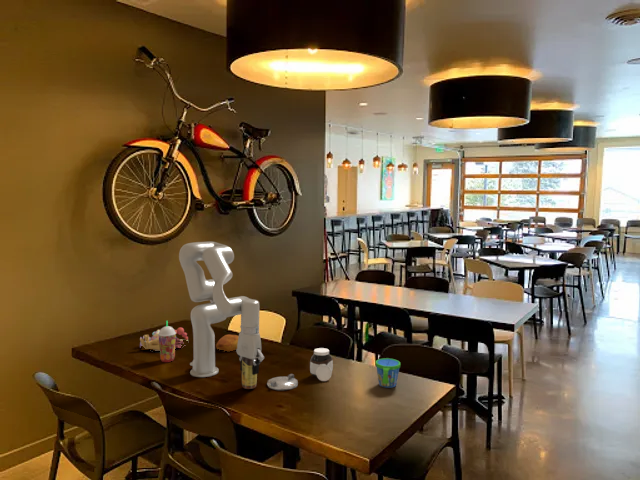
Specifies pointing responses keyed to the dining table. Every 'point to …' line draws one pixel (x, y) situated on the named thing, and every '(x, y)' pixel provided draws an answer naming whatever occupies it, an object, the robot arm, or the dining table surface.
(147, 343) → the candy landscape model
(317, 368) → the spread jar
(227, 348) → the bread bun
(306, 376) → the dining table surface
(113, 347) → the dining table surface
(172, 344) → the smoothie
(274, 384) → the base
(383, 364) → the snack cup
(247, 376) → the sauce bottle
